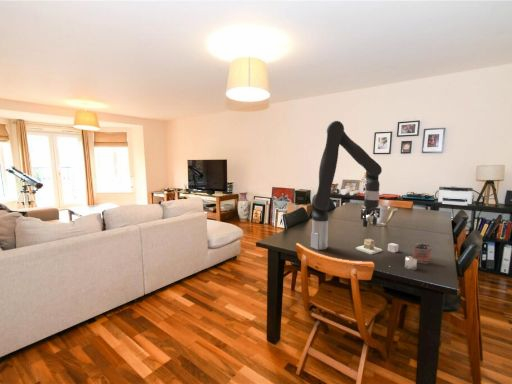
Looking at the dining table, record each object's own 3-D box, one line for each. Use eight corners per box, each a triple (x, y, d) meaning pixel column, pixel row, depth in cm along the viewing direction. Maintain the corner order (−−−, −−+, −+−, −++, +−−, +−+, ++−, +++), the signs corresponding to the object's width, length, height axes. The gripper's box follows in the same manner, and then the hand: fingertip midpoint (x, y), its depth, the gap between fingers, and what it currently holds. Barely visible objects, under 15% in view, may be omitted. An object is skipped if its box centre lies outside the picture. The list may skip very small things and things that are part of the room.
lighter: (412, 262, 131) (414, 243, 130) (411, 259, 134) (412, 241, 133) (431, 264, 128) (432, 245, 127) (429, 261, 132) (430, 243, 130)
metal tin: (413, 270, 121) (413, 260, 120) (402, 267, 125) (403, 257, 125) (418, 268, 124) (419, 258, 123) (408, 264, 128) (408, 255, 127)
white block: (394, 252, 145) (394, 246, 144) (387, 250, 148) (387, 244, 148) (398, 251, 147) (398, 244, 146) (391, 249, 150) (391, 242, 150)
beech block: (369, 249, 146) (370, 241, 145) (363, 247, 149) (364, 239, 149) (374, 248, 148) (374, 240, 147) (368, 246, 151) (368, 238, 151)
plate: (371, 254, 142) (371, 252, 142) (356, 249, 150) (356, 247, 150) (381, 251, 147) (381, 249, 147) (366, 246, 155) (366, 244, 155)
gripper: (373, 196, 151) (371, 223, 154) (358, 198, 144) (356, 225, 146) (385, 198, 145) (383, 225, 147) (369, 200, 138) (367, 229, 140)
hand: (369, 225), depth 147 cm, fingers open, 8 cm apart
